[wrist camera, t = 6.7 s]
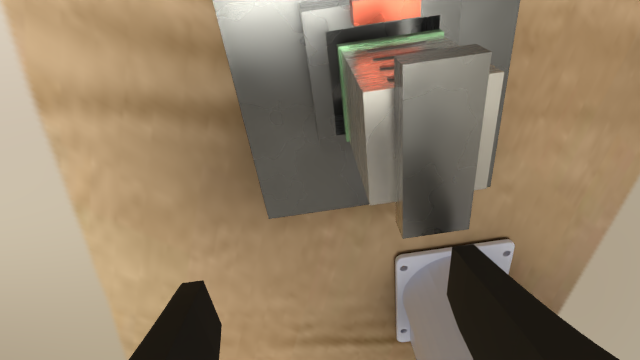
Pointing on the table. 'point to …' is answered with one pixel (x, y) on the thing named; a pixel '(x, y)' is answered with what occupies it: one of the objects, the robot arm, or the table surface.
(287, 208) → the stand
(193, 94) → the table surface
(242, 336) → the table surface
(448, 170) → the grey block
